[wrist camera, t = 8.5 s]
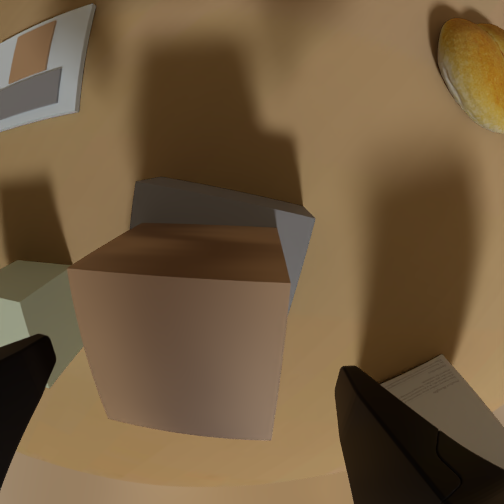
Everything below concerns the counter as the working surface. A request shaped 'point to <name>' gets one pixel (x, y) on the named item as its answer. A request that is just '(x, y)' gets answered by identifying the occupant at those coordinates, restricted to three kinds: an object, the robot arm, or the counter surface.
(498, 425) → the skincare box
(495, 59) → the bread roll
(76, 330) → the sage cube
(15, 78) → the card
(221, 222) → the charcoal block
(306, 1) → the counter surface
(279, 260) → the walnut cube
